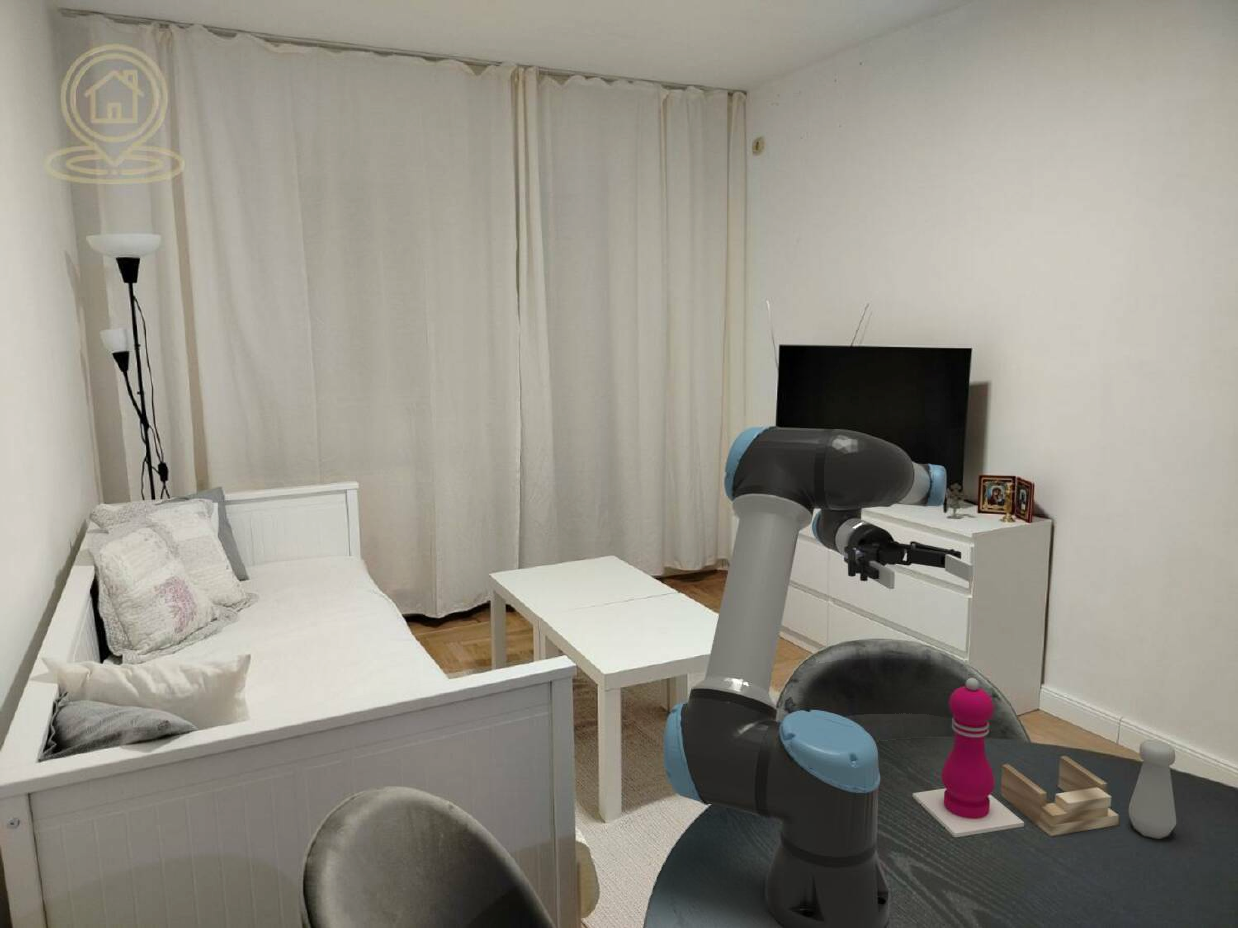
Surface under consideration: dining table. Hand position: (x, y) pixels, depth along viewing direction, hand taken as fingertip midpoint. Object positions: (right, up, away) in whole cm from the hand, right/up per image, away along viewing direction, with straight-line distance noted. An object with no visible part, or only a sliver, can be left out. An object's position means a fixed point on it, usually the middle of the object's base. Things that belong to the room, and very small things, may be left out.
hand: (932, 576), depth 137 cm
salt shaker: (+26, -34, -13) cm, 45 cm away
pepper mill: (+2, -33, -7) cm, 34 cm away
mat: (+2, -34, -7) cm, 34 cm away
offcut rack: (+16, -33, -7) cm, 38 cm away
